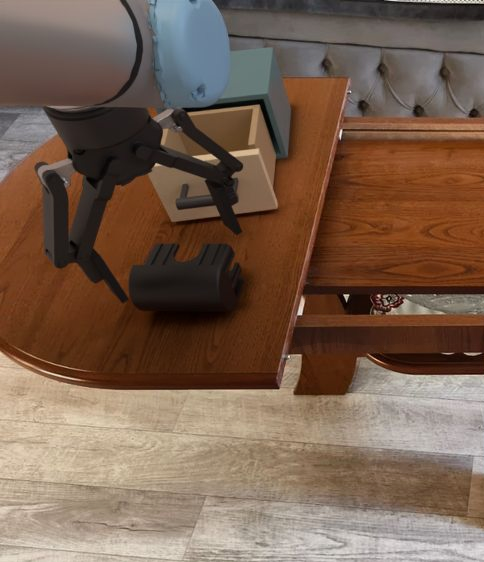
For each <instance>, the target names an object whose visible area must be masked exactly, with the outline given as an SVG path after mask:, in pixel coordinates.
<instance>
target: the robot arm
mask: <svg viewBox="0 0 484 562" xmlns="http://www.w3.org/2000/svg"><path fill="white" fill-rule="evenodd" d="M230 51H231V45H230V38H229V33H228V28H227V26H226V22H225V20H224V18H223V15H222V14H221V11H220V10H219V8H218V7H217V5H216V3H215V2H214V1H213V0H0V107H42V108H43V111H44V113H45V115H46V117H47V118H48V120H49V121H50V123H51V124H52V126H53V128H54V129H55V131H56V133H57V135H58V136H59V137H60V140H61V141H62V143H63V144H64V146H65V148H66V152H67V155H66V158H65V159H62V160H59V161H56V162H53V163H51V164H50V163H48V162H46V161H38V162H36V163H35V165H34V167H33V169H34V173H35V174H36V176H37V178H38V180H39V183H40V184H41V186H42V187H41V188H42V223H43V224H42V230H43V232H42V233H43V234H42V235H43V238H42V239H43V254H44V255H45V256H46V258H47V259H48V260H49V261H50V262H51V264H52V265H53V266H54V267H55V268H56V269H61V270H62V269H64V268H66V267H67V266H68V265H69V264H77V266H78V267H79V268H80V269H81V271H82V272H83V274H84V275H85V276H86V277H87V279H88V280H89V281H90V282H91V283H93V284H95V285H96V284H98V283H100V282H102V281H103V282H104V283H105V284H106V286H107V288H108V289H109V291H110V292H112V294H113V295H114V296H115V297H116V298H117V299H118V300H119V302H120V303H121V304H125V303H126V302H128V301H129V300H130V297H128V294H126V292H125V290H124V289H123V287H122V286H121V284H120V283H119V281H118V280H117V278H116V277H115V275H114V273H113V272H112V271H111V269H110V268H109V266H108V265H107V263H106V262H105V260H104V259H103V257H102V255H101V254H100V253H98V251H97V250H95V248H94V246H95V243H96V240H97V237H98V234H99V230H100V227H101V223H102V221H103V217H104V214H105V211H106V208H107V204H108V201H111V199H112V198H113V195H114V192H115V188H116V186H121V187H125V186H127V185H129V184H131V183H132V182H133V181H134V180H136V179H137V178H139V177H143V176H147V175H148V173H150V172H152V168H153V167H154V166H155V164H156V163H157V164H160V165H163V166H166V167H169V168H175V169H178V170H181V171H184V172H187V173H190V174H193V175H196V176H199V177H202V178H205V179H206V180H204V181H205V183H206V185H207V187H208V190H209V192H210V194H211V196H212V199H213V201H214V203H215V205H216V208H217V210H218V212H219V214H220V216H219V217H220V219H221V221H222V223H223V225H224V226H225V228H227V229H228V230H229V231H230V232H231V233H233V234H234V235H235V236H238V235H240V234H243V230H242V228H241V225H240V223H239V220H238V218H237V216H236V215H237V214H235V213H234V211H233V208H232V206H233V205H235V204H236V203H237V200H238V198H237V196H236V194H235V191H234V189H233V185H234V183H235V181H234V179H233V178H232V177H231V176H232V175H233V174H234V173H235V172H240V171H241V170H242V169H243V163H242V162H240V161H239V160H238V159H236V158H235V157H234V156H233V155H231V154H230V153H229V152H227V151H226V150H225V149H223V148H222V147H221V146H220V145H218V144H217V143H216V142H214V141H213V140H212V139H210V138H209V137H208V136H206V135H205V134H204V133H203V132H201V131H200V130H199V129H197V128H196V127H195V125H194V123H193V122H192V120H191V118H190V117H189V115H188V113H187V112H186V111H184V110H183V109H182V108H192V107H207V106H210V105H212V104H214V103H215V102H217V101H218V100H219V98H220V97H221V96H222V95H223V93H224V92H225V89H226V87H227V84H228V81H229V76H230V69H231V59H230ZM155 108H164V110H165V111H164V112H162V113H160V114H159V115H158V114H156V116H154V117H152V116H151V114H150V112H149V110H148V109H155ZM166 128H167V129H170V130H171V131H173V132H183V133H184V134H185V135H186V136H188V137H189V138H190V139H192V140H193V141H194V142H196V143H197V144H198V145H200V146H201V147H202V148H204V149H205V150H206V151H208V152H209V153H211V154H212V155H213V156H215V157H216V158H217V159H219V160H220V162H219V163H218V164H217V165H214V164H211V163H208V162H205V161H203V160H200V159H197V158H194V157H192V156H189V155H186V154H184V153H181V152H178V151H175V150H173V149H170V148H167V147H165V146H163V145H161V140H162V136H163V129H166ZM75 173H78V174H79V175H82V176H83V177H82V181H81V184H82V190H81V193H80V197H79V200H78V204H77V207H76V211H75V214H74V218H73V221H72V224H71V226H70V225H69V222H70V221H69V220H70V219H69V215H70V214H69V206H70V205H69V194H68V191H67V189H68V188H70V187H71V182H72V179H71V178H72V175H73V174H75ZM69 226H70V227H71V228H70V227H69ZM69 228H70V231H69Z"/></svg>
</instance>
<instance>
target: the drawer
mask: <svg viewBox="0 0 484 562" xmlns="http://www.w3.org/2000/svg"><path fill="white" fill-rule="evenodd" d="M188 115H189V117H190V118H191V120H192V122H193V123H194V125H195V127H196V128H197V129H199V130H200V131H201V132H203V133H204V134H205V135H206V136H208V137H209V138H210V139H212V140H213V141H214V142H216V143H217V144H218V145H220V146H221V147H222V148H223V149H225V150H226V151H227V152H229V153H230V154H231V155H233V156H234V157H235V158H236V159H238V160H239V161H240V162H242V163H243V169H242V170H241V171H240V172H235V173H234V174H233V175H232V176H231V177H232V178H233V179H234V181H235V183H234V185H233V189H234V191H235V194H236V196H237V198H238V200H237V203H236V204H235V205H233V206H232V208H233V211H234V213H235V215H238V214H239V215H240V214H247V213H254V212H255V213H256V212H263V211H271V210H278V205H279V203H278V199H277V197H276V193H275V190H274V183H275V182H274V181H275V173H276V172H275V171H276V161H277V159H276V154H275V150H274V147H273V144H272V141H271V138H270V135H269V132H268V129H267V126H266V123H265V120H264V117H263V114H262V110H261V107H260V105H252V106H243V107H234V108H225V109H216V110H207V111H198V112H189V113H188ZM161 145H163V146H165V147H167V148H170V149H173V150H175V151H178V152H181V153H184V154H186V155H189V156H192V157H194V158H197V159H200V160H203V161H205V162H208V163H211V164H214V165H217V164H218V163H219V162H220V160H219V159H217V158H216V157H215V156H213V155H212V154H211V153H209V152H208V151H206V150H205V149H204V148H202V147H201V146H200V145H198V144H197V143H196V142H194V141H193V140H192V139H190V138H189V137H188V136H186V135H185V134H184V133H183V132H173V131H171V130H170V129H167V128H166V129H163V136H162V140H161ZM147 176H148V178H149V181H150V183H151V184H152V186H153V188H154V190H155V192H156V194H157V196H158V197H159V200H160V202H161V204H162V205H163V207H164V210H165V211H166V214H167V216H168V217H169V219H170V221H171V223H176V222H184V221H192V220H199V219H206V218H207V219H208V218H216V217H220V214H219V212H218V210H217V208H216V205H215V203H214V201H213V199H212V196H211V194H210V192H209V190H208V187H207V185H206V183H205V181H204V180H206V179H205V178H202V177H199V176H196V175H193V174H190V173H187V172H184V171H181V170H178V169H175V168H169V167H166V166H163V165H160V164H157V163H156V164H155V166H154V167H153V168H152V172H150V173H148V174H147Z"/></svg>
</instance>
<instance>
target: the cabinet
mask: <svg viewBox="0 0 484 562" xmlns="http://www.w3.org/2000/svg"><path fill="white" fill-rule="evenodd" d="M230 59H231V69H230V76H229V81H228V84H227V87H226V89H225V92H224V93H223V95H222V96H221V97H220V98H219V100H218V101H217V102H215V103H214V104H212V105H210V106H207V107H192V108H182V109H183V110H184V111H186V112H187V113H189V112H198V111H207V110H216V109H225V108H234V107H243V106H252V105H260V107H261V110H262V114H263V117H264V120H265V123H266V126H267V129H268V132H269V135H270V138H271V141H272V144H273V147H274V150H275V154H276V160H278V159H279V160H280V159H286V158H288V156H289V145H290V144H289V143H290V132H291V131H290V130H291V116H292V108H291V105H290V104H291V103H290V100H289V97H288V93H287V91H286V87H285V84H284V80H283V76H282V74H281V70H280V66H279V62H278V59H277V55H276V52H275V49H274V47H273V46H270V47H269V46H268V47H260V48H250V49H240V50H230ZM154 109H155V112H156V113H157V114H156V115H159V114H160V113H162V112H164V111H165V110H164V108H154Z"/></svg>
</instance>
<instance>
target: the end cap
mask: <svg viewBox="0 0 484 562" xmlns="http://www.w3.org/2000/svg"><path fill="white" fill-rule="evenodd" d="M180 247H181V246H180V244H179V243H154V245H153V246H152V248H151V250H150V252H149V254H148V255H147V257H146V258H145V261H144V263H143V264H133V265H132V266H131V268H130V271H129V275H128V281H127V282H128V283H127V285H128V293H129V299H130V300H131V302H132V304H133V306H134V307H135V308H136V309H137V310H139V311H141V312H231V311H232V310H234V309H235V308H236V307H237V305H238V303H239V299H240V297H241V294H242V292H243V288H244V286H245V282H246V281H245V279H244V277H242V276H240V275H241V274H242V265H240V262H238V261H237V262H236V261H235V262H234V263H233V261H234V259H235V256H236V252H235V250H234V249H233V247H232V246H231V245H230V244H228V243H224V242H223V243H222V242H221V243H219V242H218V243H217V242H216V243H213V242H212V243H211V242H209V243H206V242H205V243H202V246H201V248H200V250H199V252H198V254H197V255H196V256H195V257H193V258H192V259H189V260H185V261H180V260H176V255H177V253H178V252H179V249H180ZM232 263H233V266H232V269H230V268H231V265H232Z"/></svg>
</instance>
